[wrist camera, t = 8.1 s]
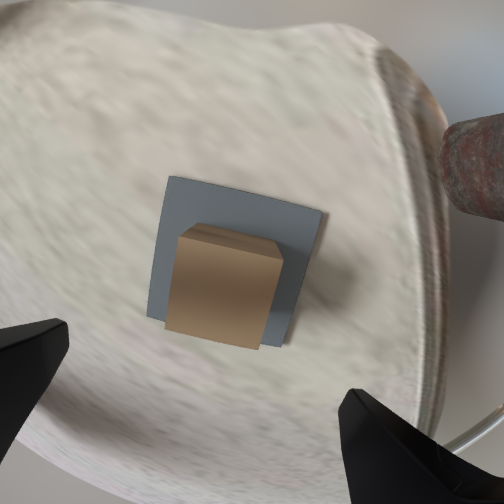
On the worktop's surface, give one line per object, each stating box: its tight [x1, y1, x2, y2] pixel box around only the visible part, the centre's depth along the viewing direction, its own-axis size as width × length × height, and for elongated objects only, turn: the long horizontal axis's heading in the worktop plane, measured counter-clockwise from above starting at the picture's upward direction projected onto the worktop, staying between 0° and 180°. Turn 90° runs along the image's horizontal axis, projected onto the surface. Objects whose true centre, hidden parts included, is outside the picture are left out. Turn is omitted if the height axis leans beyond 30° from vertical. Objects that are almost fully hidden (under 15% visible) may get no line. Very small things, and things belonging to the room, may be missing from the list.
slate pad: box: [147, 176, 322, 347], centre depth 19 cm, size 10×10×1 cm
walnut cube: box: [165, 223, 284, 350], centre depth 16 cm, size 5×5×5 cm
